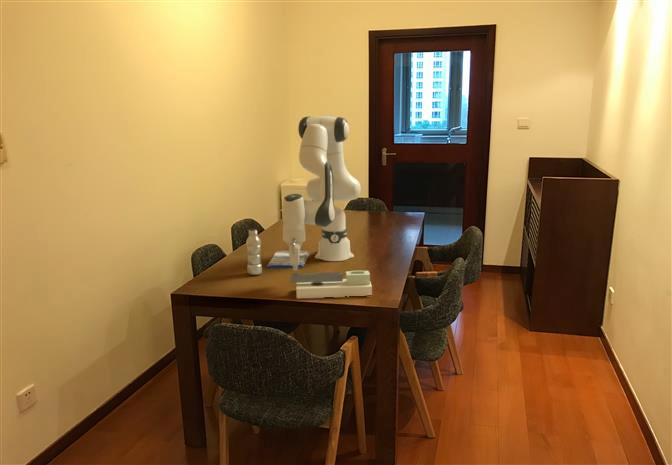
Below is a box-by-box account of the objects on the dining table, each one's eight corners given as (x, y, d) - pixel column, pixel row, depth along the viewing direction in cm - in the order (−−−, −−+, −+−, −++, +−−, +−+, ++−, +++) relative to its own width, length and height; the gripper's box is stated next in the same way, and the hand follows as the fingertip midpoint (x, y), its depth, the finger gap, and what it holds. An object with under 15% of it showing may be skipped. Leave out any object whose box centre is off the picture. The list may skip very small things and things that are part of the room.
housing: (297, 289, 216) (296, 280, 215) (369, 287, 217) (369, 278, 216) (296, 298, 206) (296, 288, 205) (371, 296, 207) (371, 286, 206)
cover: (346, 280, 213) (345, 269, 212) (368, 280, 214) (368, 268, 213) (346, 285, 208) (346, 273, 207) (369, 284, 209) (369, 272, 208)
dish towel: (309, 255, 266) (309, 250, 266) (303, 270, 244) (303, 264, 243) (275, 255, 268) (275, 249, 267) (265, 269, 245) (265, 263, 244)
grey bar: (291, 282, 211) (291, 273, 211) (342, 280, 212) (342, 272, 211) (291, 284, 208) (291, 275, 208) (342, 283, 209) (342, 274, 208)
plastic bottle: (255, 271, 241) (253, 227, 236) (265, 273, 237) (263, 229, 232) (244, 274, 236) (241, 230, 231) (254, 277, 232) (252, 232, 227)
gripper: (302, 242, 200) (303, 277, 203) (302, 230, 220) (303, 263, 223) (285, 242, 200) (286, 278, 203) (287, 230, 220) (288, 263, 223)
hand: (295, 270), depth 213 cm, fingers closed
